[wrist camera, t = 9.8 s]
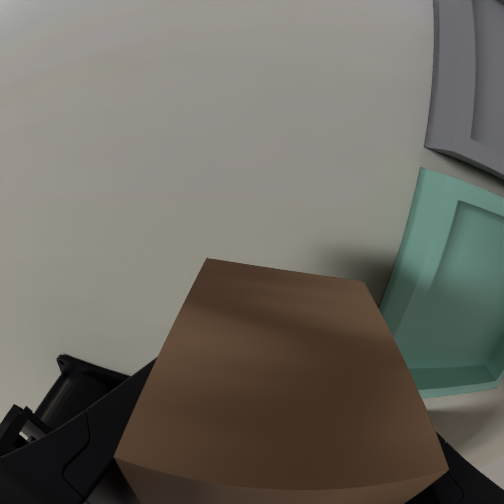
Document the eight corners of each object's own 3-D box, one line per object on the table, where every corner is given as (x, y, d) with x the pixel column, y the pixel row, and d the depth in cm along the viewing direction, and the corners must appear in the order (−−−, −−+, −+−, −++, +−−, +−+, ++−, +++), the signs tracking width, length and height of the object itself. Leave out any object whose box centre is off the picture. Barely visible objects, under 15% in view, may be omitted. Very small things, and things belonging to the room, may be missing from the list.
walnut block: (199, 372, 10) (157, 525, 4) (206, 257, 8) (113, 456, 3) (322, 387, 10) (339, 539, 4) (363, 281, 8) (449, 469, 2)
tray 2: (352, 370, 16) (360, 400, 14) (420, 167, 11) (448, 175, 9) (482, 367, 16) (496, 387, 14) (547, 221, 11) (570, 233, 9)
